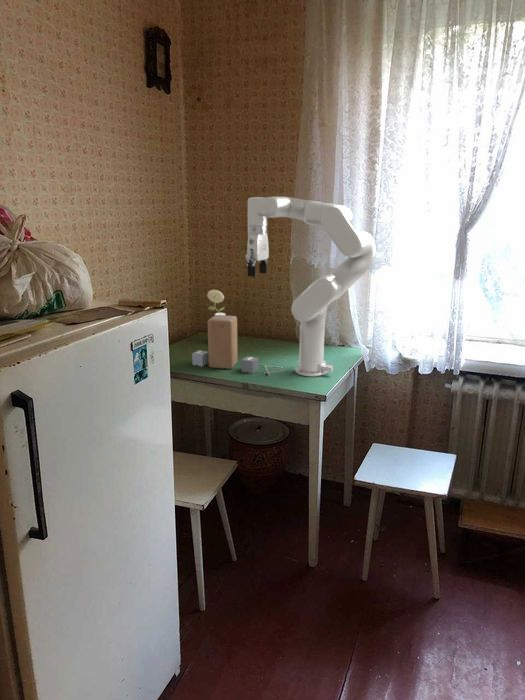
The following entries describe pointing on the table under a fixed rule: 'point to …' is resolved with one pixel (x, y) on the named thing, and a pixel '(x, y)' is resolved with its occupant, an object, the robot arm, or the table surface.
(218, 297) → the flower in vase
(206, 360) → the slate block marked 7
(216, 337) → the wooden block
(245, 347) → the table surface
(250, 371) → the charcoal block marked 1
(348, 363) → the table surface
